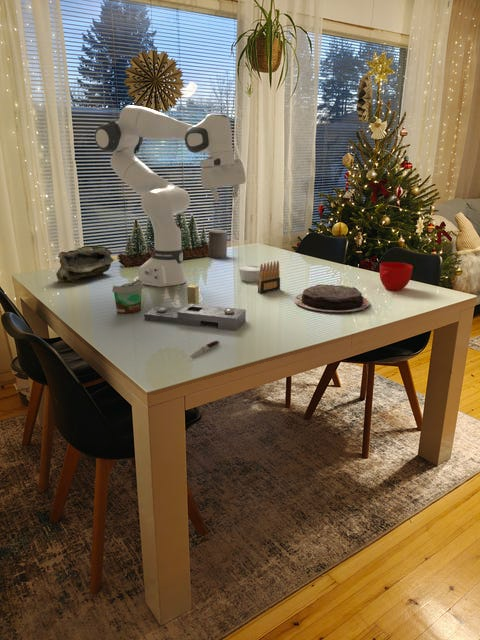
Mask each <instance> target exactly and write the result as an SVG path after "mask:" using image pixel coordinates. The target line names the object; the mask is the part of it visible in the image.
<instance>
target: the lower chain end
mask: <svg viewBox="0 0 480 640" xmlns="http://www.w3.org/2000/svg"><path fill="white" fill-rule="evenodd" d="M182 308H183V307H175V306H174V307H173V306H165V305H164V306H163V305H156V306H155V307H154V308H152V309H150V310H148V311H147V312H146V313H144V314H143V315H144V318H143V319H144V321H151V322H158V323H168V324H175V325H176V324H177V325H185V326H193V327H202V326H203V325H204V324H205V323H206V322H208V321H200V320H191V319H182V318H177V312H178V311H180V310H181V309H182Z"/></svg>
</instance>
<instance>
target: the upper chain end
mask: <svg viewBox="0 0 480 640" xmlns="http://www.w3.org/2000/svg"><path fill="white" fill-rule="evenodd" d="M181 308H182V309H181V310H180V311H178V312H177V318H182V319H191V320H200V321H207V322H211V323H217V324H218V325H217V327H218V330H219V329H220V330H228V331H236V332H237V331H238V330H239V329H240V327H241V326H242V325H244V324H245V322H247V321H246V317H247V316H246V315H247V313H246V312H247V311H246V309H244V308H233V307H225V306H215V305H206V304H199V305H198V304H188V303H187V305H186V306H184V307H181Z"/></svg>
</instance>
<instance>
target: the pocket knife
mask: <svg viewBox="0 0 480 640" xmlns="http://www.w3.org/2000/svg"><path fill="white" fill-rule="evenodd" d="M220 343H221V341H219V340H214V341H211V342H209V343H207V344H205V345H203V346H202V347H201V348H199V349H198V350H196V351H195V352H194V353H192V354H191V355H190V356H189V357H190V358H193V359H194V358H195V357H198V356H200V355H202V354H203V353H207V351H208V350H209V351H210V350H211V349H214V348H215V347H218V346H219V345H220Z"/></svg>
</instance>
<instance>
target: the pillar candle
mask: <svg viewBox="0 0 480 640" xmlns="http://www.w3.org/2000/svg"><path fill="white" fill-rule="evenodd" d="M227 248H228V230H225V229H224V230H223V229H209V230H208V258H210V259H225V258H227V256H228V255H227V254H228V252H227V251H228V249H227Z"/></svg>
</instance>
